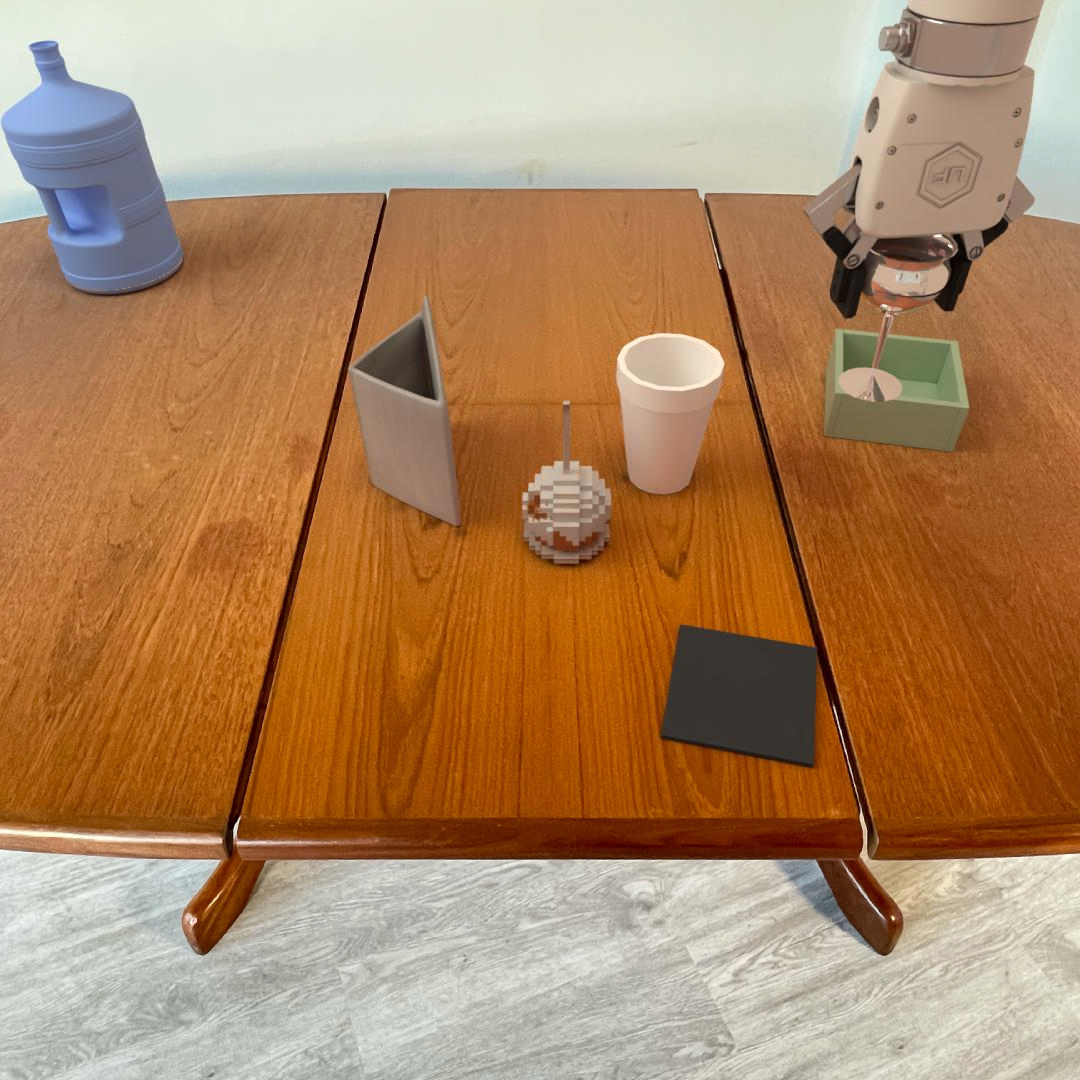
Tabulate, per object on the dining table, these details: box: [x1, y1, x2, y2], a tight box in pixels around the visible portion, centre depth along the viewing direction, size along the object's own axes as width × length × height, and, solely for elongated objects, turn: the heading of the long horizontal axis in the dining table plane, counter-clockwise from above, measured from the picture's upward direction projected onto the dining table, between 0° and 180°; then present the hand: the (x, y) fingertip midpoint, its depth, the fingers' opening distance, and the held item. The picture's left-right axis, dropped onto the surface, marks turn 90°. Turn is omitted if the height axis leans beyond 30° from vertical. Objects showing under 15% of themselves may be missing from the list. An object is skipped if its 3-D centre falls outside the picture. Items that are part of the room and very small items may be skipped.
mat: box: [660, 624, 818, 768], centre depth 68 cm, size 11×11×1 cm
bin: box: [823, 328, 970, 453], centre depth 92 cm, size 13×13×5 cm
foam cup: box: [615, 332, 726, 495], centre depth 83 cm, size 10×9×13 cm
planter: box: [347, 295, 462, 527], centre depth 81 cm, size 16×8×19 cm, turn 12°
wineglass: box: [839, 234, 958, 402], centre depth 67 cm, size 7×7×12 cm
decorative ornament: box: [521, 400, 612, 565], centre depth 76 cm, size 8×8×15 cm
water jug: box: [0, 40, 184, 295], centre depth 112 cm, size 16×16×28 cm
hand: (892, 304), depth 66 cm, fingers closed on wineglass, 6 cm apart
